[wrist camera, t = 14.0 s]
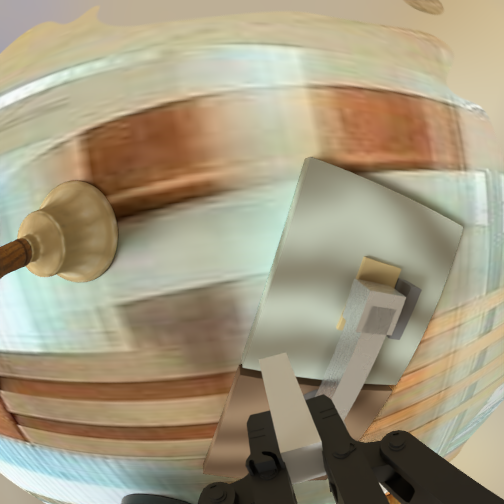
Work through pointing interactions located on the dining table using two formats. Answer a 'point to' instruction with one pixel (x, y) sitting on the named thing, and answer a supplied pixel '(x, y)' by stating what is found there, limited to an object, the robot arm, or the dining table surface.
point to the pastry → (392, 499)
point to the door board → (336, 296)
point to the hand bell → (65, 236)
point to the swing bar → (360, 341)
